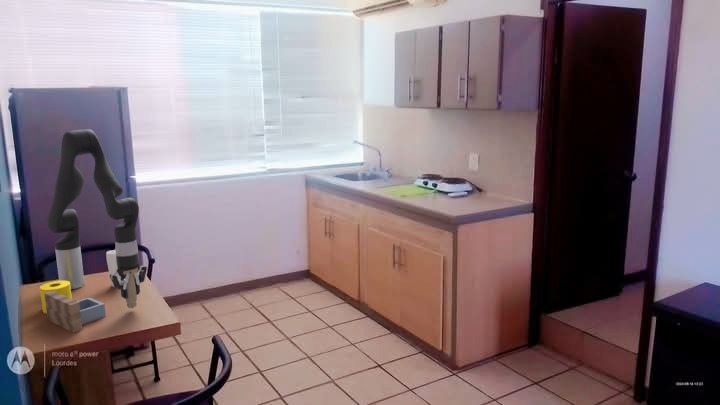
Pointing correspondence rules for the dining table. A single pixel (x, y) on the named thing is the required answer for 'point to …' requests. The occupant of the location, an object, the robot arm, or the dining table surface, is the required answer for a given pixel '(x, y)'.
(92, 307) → the box
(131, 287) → the handle
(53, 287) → the tape roll
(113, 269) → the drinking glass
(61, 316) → the block
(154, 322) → the dining table surface
